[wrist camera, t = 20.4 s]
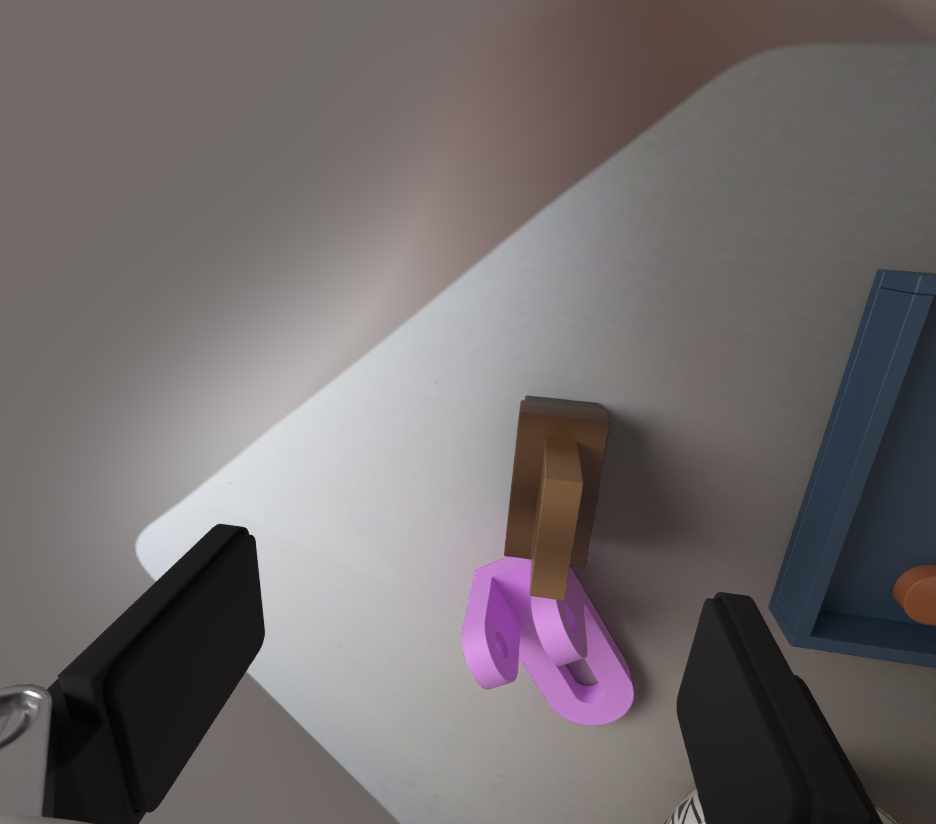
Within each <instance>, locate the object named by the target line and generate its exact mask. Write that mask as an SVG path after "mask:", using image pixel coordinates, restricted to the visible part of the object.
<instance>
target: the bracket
mask: <svg viewBox="0 0 936 824" xmlns="http://www.w3.org/2000/svg"><path fill="white" fill-rule="evenodd" d="M530 573H531V560H530V559H523V558H515V557H507V558H504V559H502V560H499V561H497V562H494V563H492V564H489V565H487V566H484V567H482V568H479V569H477V570H475V572H474V577H473V582H472V587H471V591H470V596H469V601H468V605H467V610H466V615H465V620H464V624H463V630H462V643H463V649H464V654H465V658H466V661H467V664H468V667H469V669H470V671H471V673H472V675H473V677H474V679H475V680H476V681H477V683H478V684H479V685H480V686H481V687H482V688H484V689H487V690H488V689H492V688H495V687H498V686H501V685H504V684H507V683H510V682H513V681H514V680H515V679H516V677H517V673H518V660H519V658H520V660H521V661H522V663H523V664H524V666H525V668H526V669H527V671H528V672H529V674H530V675H531V677H532V678H533V680H534V682H535V683H536V685H537V686H538V688H539V689H540V691H541V692H542V694H543V696H544V697H545V699H546V700H547V702H548V703H549V705H550V706H551V708H552V709H553V710H554V711H555V712H556V713H557V714H559V715H560V716H562V717H563V718H565V719H567V720H569V721H571V722H574V723H578V724H582V725H603V724H607V723H610V722H613V721H615V720H617V719H619V718H620V717H622V716H623V715H624V714H625V713H626V712H627V711H628V710H629V708H630V706H631V704H632V702H633V697H634V691H633V685H632V680H631V675H630V670H629V667H628V665H627V663H626V661H625V659H624V657H623V656H622V654H621V652H620V651H619V649H618V647H617V645H616V644H615V642H614V640H613V639H612V637H611V635H610V633H609V632H608V630H607V628H606V627H605V625H604V623H603V621H602V620H601V618H600V616H599V615H598V613H597V611H596V609H595V608H594V606H593V604H592V603H591V601H590V599H589V597H588V596H587V594H586V592H585V591H584V589H583V587H582V585H581V584H580V582H579V580H578V579H577V577H576V575H575V573H574V572H573V570H572V568H571V567H570V571H569V577H568V584H567V590H566V596H565V600H564V601H561V600H554V599H548V598H541V597H534V596H530ZM581 659H585V661H586V663H587V664H588V666H589V668H590V669H591V671H592V673H593V674H594V676H595V678H596V679H597V681H598V683H597V684H595V685H592V686H584V685H581V684H579V683H577V682H576V681H575V680H574V678H573V676H572V675H571V673H570V672H569V670H568V668H567V667H566V665H565V664H568V663H571V662H574V661H577V660H581Z"/></svg>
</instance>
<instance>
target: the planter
mask: <svg viewBox="0 0 936 824" xmlns="http://www.w3.org/2000/svg"><path fill="white" fill-rule="evenodd" d="M872 804H873V803H872ZM873 805H874V807H875V809H876V811H877V813H878V814H879V816H880V818H881V820H882V822H883V823H884V824H902V823H901V822H899V821H898V820H897V819H895V818H894V817H892V816H891V815H890V814H888V813H887V812H886V811H884V810H883V809H881V808H880V807H878V806H877V805H875V804H873ZM664 824H706V822H705V819H704V815H703V811H702V807H701V803H700V800H699V796H698V792H697V788H695V789H694V790H693V791H691V792H690V793H689V794H688V795H687V796H686V797H685V798H684V799H683V800H682V801H681V802H680V803H679V804H678V805H677V806H676V808H675V809H674V810H673V811H672V813H671V814H670V815H669V817H668V818H667V820H666V822H665V823H664Z"/></svg>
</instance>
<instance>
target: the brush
mask: <svg viewBox="0 0 936 824" xmlns="http://www.w3.org/2000/svg"><path fill="white" fill-rule="evenodd" d="M609 426H610V421H609V418H608V415H607V412H606V410H605V409H600V407H599V404H598V403H591V402H582V401H572V400H563V399H554V398H544V397H535V396H525V400H522V401H521V404H520V411H519V420H518V429H517V438H516V448H515V457H514V466H513V476H512V485H511V494H510V504H509V513H508V522H507V531H506V541H505V550H504V556H508V557H515V558H523V559H530V560H531V573H530V596H534V597H541V598H548V599H554V600H561V601H564V600H565V596H566V590H567V584H568V577H569V571H570V565H572V566H579V567H585V566H586V560H587V554H588V548H589V543H590V537H591V531H592V525H593V519H594V513H595V508H596V502H597V496H598V490H599V484H600V478H601V473H602V467H603V461H604V455H605V449H606V443H607V437H608V432H609Z"/></svg>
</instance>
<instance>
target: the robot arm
mask: <svg viewBox="0 0 936 824" xmlns="http://www.w3.org/2000/svg"><path fill="white" fill-rule="evenodd" d="M264 636H265V628H264V618H263V608H262V599H261V589H260V579H259V569H258V560H257V550H256V541H255V538H254V536H252V535H249V531H248V530H247V528H245V527H240V526H233V525H225V524H217V525H216V526H214V527H213V528H212V529H211V530H210V531H209V532H208V533H207V534H206V535H205V536H204V537H203V538H201V539H200V540H199V541H198V542H197V543H196V544H195V545H194V546H193V547H192V548H191V549H190V550H189V551H188V552H187V553H186V554H185V555H184V556H183V557H182V558H181V559H179V560H178V561H177V562H176V563H175V564H174V565H173V566H172V567H171V568H170V569H169V570H168V571H167V572H166V573H165V574H164V575H163V576H162V577H161V578H160V579H159V580H157V581H156V582H155V583H154V584H153V585H152V586H151V587H150V588H149V589H148V590H147V591H146V592H145V593H144V594H143V595H142V596H141V597H140V598H139V599H138V600H137V601H135V602H134V604H132V605H131V606H130V607H129V608H128V609H127V610H126V611H125V612H124V613H123V614H122V615H121V616H120V617H119V618H118V619H117V620H116V621H115V622H113V623H112V624H111V625H110V626H109V627H108V628H107V629H106V630H105V631H104V632H103V633H102V634H101V635H100V636H99V637H98V638H97V639H96V640H95V641H94V642H93V643H92V644H90V645H89V646H88V647H87V649H85V650H84V651H83V652H82V653H81V654H80V655H79V656H78V657H77V658H76V659H75V660H74V661H73V662H72V663H71V664H70V665H68V666H67V667H66V668H65V669H64V670H63V671H62V672H61V673H60V674H59V675H58V679H57V680H56V681H55V682H54V683H53V684H52V685H51V686H50V687H49V688H48V689H47V690H46V689H45V688H44V687H40V686H37V685H33V684H25V685H15V686H10V687H6V688H2V689H0V824H139V822H140V821H141V819H142V818H143V816H144V815H145V813H146V812H149V813H150V812H152V811H154V810H155V809H156V808H157V807H158V806H159V805H160V803H161V802H162V800H163V799H164V797H165V795H166V794H167V792H168V791H169V789H170V788H171V786H172V785H173V783H174V782H175V780H176V779H177V777H178V776H179V774H180V773H181V771H182V769H183V768H184V766H185V765H186V763H187V762H188V760H189V759H190V757H191V756H192V754H193V752H194V751H195V749H196V748H197V746H198V745H199V743H200V742H201V740H202V738H203V737H204V735H205V734H206V732H207V731H208V729H209V728H210V726H211V725H212V723H213V722H214V720H215V719H216V717H217V715H218V714H219V712H220V711H221V709H222V708H223V706H224V705H225V703H226V702H227V700H228V698H229V697H230V695H231V694H232V692H233V691H234V689H235V688H236V686H237V685H238V683H239V681H240V680H241V678H242V677H243V675H244V673H245V672H246V671H247V669H248V668H249V666H250V664H251V663H252V661H253V660H254V658H255V657H256V655H257V654H258V652H259V650H260V649H261V647H262V644H263V641H264ZM677 716H678V720H679V724H680V728H681V732H682V735H683V739H684V743H685V747H686V751H687V754H688V758H689V762H690V766H691V769H692V773H693V777H694V781H695V785H696V788H697V792H698V796H699V800H700V803H701V807H702V811H703V815H704V819H705V822H706V824H884V823H883V822H882V820H881V818H880V816H879V814H878V813H877V811H876V809H875V807H874V805H873V804H872V802H871V800H870V798H869V796H868V795H867V793H866V791H865V789H864V787H863V786H862V784H861V782H860V780H859V778H858V777H857V775H856V773H855V771H854V769H853V768H852V766H851V764H850V762H849V760H848V759H847V757H846V755H845V753H844V751H843V750H842V748H841V746H840V744H839V742H838V741H837V739H836V737H835V735H834V733H833V732H832V730H831V728H830V726H829V724H828V723H827V721H826V719H825V717H824V715H823V714H822V712H821V710H820V708H819V706H818V705H817V703H816V701H815V699H814V697H813V696H812V694H811V692H810V690H809V688H808V687H807V685H806V684H805V683H804V681H803V680H802V679H801V678H799V677H798V676H796V675H794V674H793V673H792V671H791V669H790V667H789V665H788V663H787V661H786V660H785V658H784V656H783V654H782V652H781V650H780V648H779V647H778V645H777V643H776V641H775V639H774V637H773V636H772V634H771V632H770V630H769V628H768V626H767V624H766V623H765V621H764V619H763V617H762V615H761V613H760V611H759V610H758V608H757V606H756V604H755V602H754V601H753V599H752V598H751V597H749V596H745V595H738V594H730V593H723V592H718V593H717V594H716V595H715V597H714V599H711V598H707V599H706V600H705V602H704V605H703V609H702V612H701V616H700V619H699V623H698V626H697V630H696V633H695V637H694V640H693V644H692V647H691V651H690V654H689V658H688V661H687V665H686V668H685V672H684V675H683V679H682V682H681V686H680V689H679V693H678V697H677Z"/></svg>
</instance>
